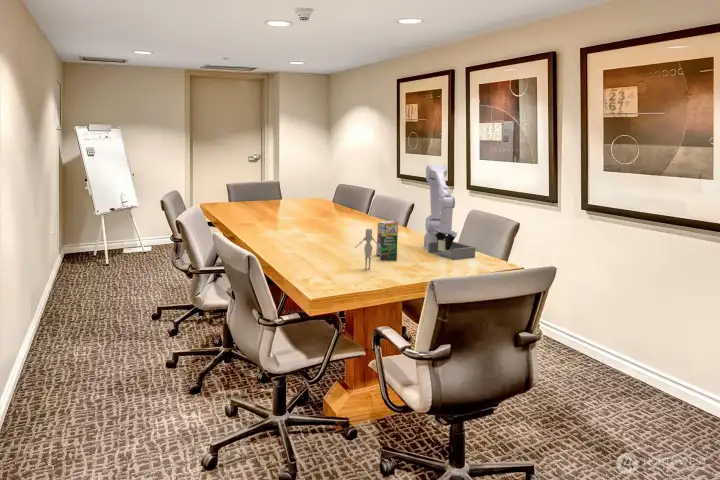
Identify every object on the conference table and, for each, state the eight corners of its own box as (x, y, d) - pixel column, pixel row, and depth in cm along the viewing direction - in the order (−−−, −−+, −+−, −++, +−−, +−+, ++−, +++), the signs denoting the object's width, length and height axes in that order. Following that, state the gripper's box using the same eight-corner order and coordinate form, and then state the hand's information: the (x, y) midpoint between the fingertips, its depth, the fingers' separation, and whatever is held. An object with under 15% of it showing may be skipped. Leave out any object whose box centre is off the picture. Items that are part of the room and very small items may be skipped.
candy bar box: (384, 257, 270) (385, 223, 267) (375, 255, 273) (377, 222, 270) (397, 253, 279) (398, 221, 276) (389, 252, 282) (390, 220, 279)
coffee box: (379, 260, 263) (380, 232, 261) (379, 259, 266) (380, 231, 264) (396, 260, 263) (398, 233, 261) (396, 259, 266) (397, 232, 264)
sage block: (437, 250, 275) (438, 240, 274) (444, 249, 278) (445, 239, 277) (443, 251, 272) (444, 241, 271) (450, 251, 274) (451, 241, 273)
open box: (428, 253, 282) (428, 242, 281) (449, 251, 289) (450, 240, 288) (452, 261, 266) (453, 249, 265) (474, 258, 273) (475, 247, 272)
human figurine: (380, 268, 247) (382, 228, 244) (381, 270, 244) (383, 229, 240) (353, 268, 246) (354, 227, 243) (354, 270, 242) (355, 229, 239)
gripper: (430, 219, 276) (428, 246, 278) (449, 224, 264) (447, 252, 266) (441, 219, 280) (439, 245, 282) (460, 223, 268) (459, 251, 270)
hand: (444, 248), depth 275 cm, fingers closed on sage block, 4 cm apart
